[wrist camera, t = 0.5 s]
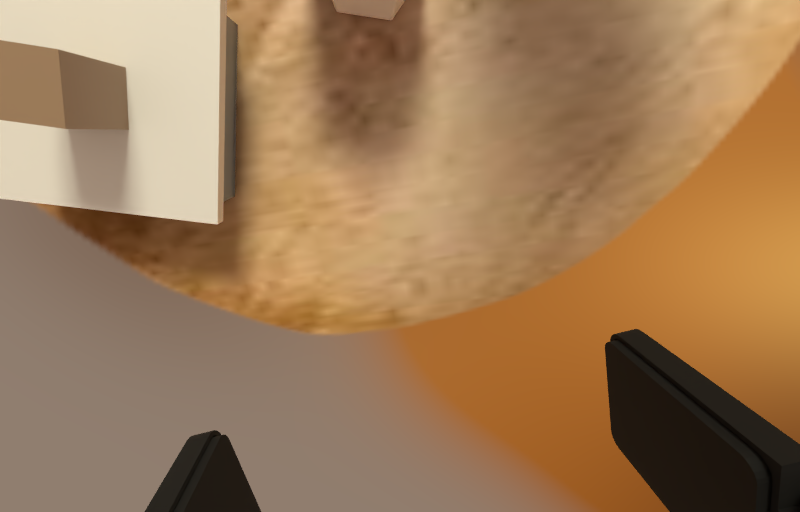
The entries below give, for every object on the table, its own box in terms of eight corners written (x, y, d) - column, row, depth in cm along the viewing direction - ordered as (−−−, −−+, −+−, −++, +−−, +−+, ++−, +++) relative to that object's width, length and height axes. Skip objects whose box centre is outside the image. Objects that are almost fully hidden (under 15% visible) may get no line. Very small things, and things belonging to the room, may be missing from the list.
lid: (-39, -61, 25) (-196, -135, 18) (226, -12, 26) (176, -63, 20) (-2, 193, 29) (-115, 212, 22) (223, 221, 31) (181, 246, 24)
